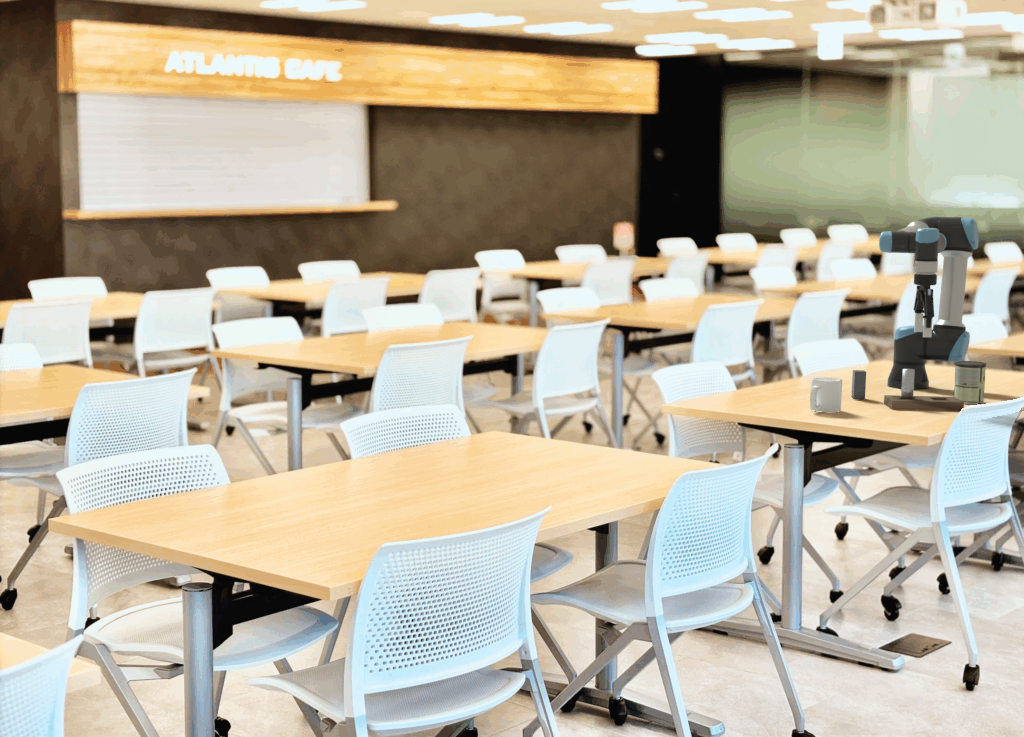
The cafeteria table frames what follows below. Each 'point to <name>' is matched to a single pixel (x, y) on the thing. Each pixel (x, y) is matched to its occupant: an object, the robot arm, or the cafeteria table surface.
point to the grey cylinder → (907, 384)
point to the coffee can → (970, 381)
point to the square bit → (858, 384)
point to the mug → (826, 394)
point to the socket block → (924, 403)
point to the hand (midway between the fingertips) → (922, 334)
